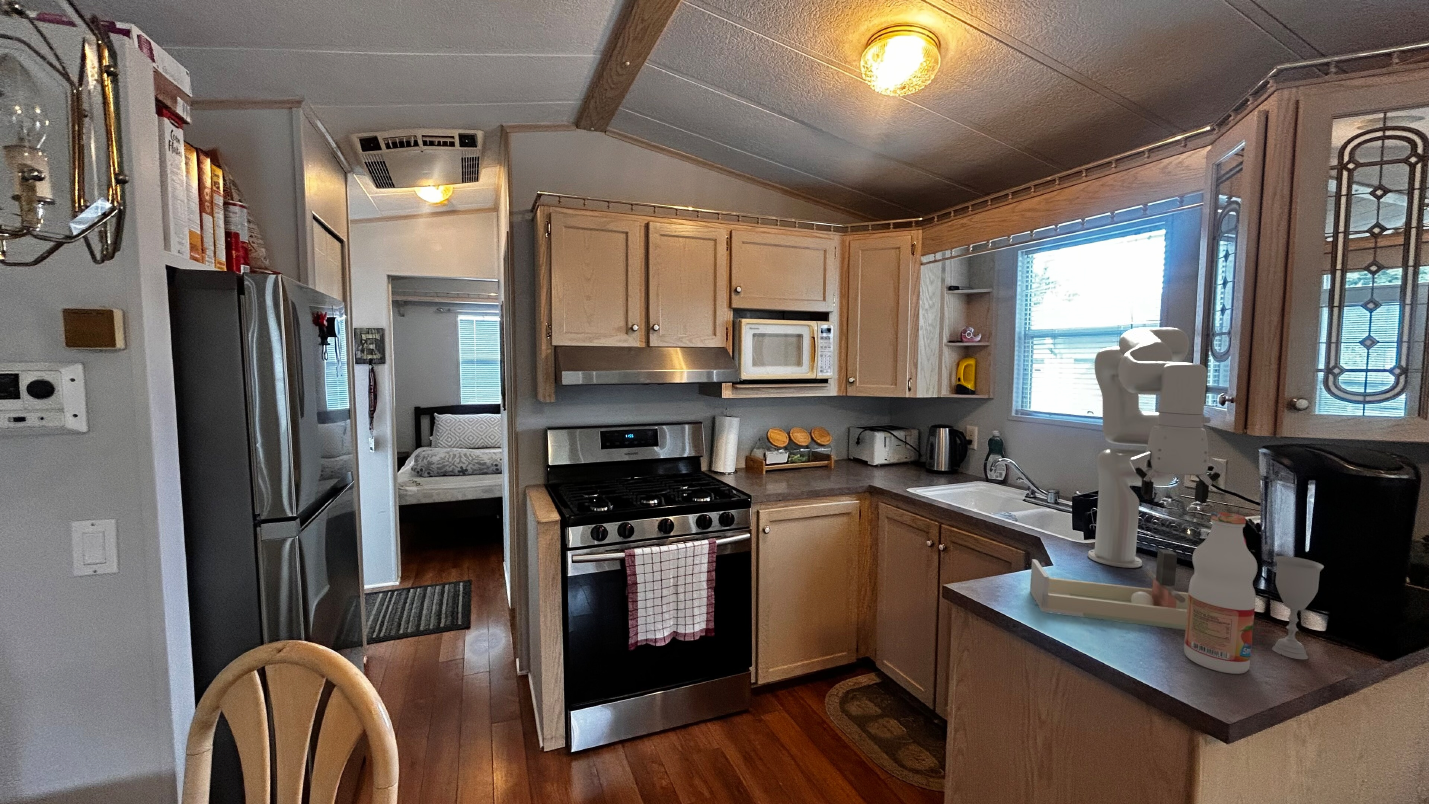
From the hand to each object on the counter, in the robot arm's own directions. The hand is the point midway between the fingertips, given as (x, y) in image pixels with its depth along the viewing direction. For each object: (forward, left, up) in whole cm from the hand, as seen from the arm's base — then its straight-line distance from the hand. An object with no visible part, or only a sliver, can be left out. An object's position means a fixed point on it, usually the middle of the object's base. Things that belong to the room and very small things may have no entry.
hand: (1173, 500), depth 128 cm
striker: (0, 0, -25) cm, 25 cm away
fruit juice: (+20, +1, -26) cm, 33 cm away
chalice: (+11, +17, -26) cm, 33 cm away
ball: (0, -4, -23) cm, 23 cm away
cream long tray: (0, -9, -26) cm, 28 cm away
